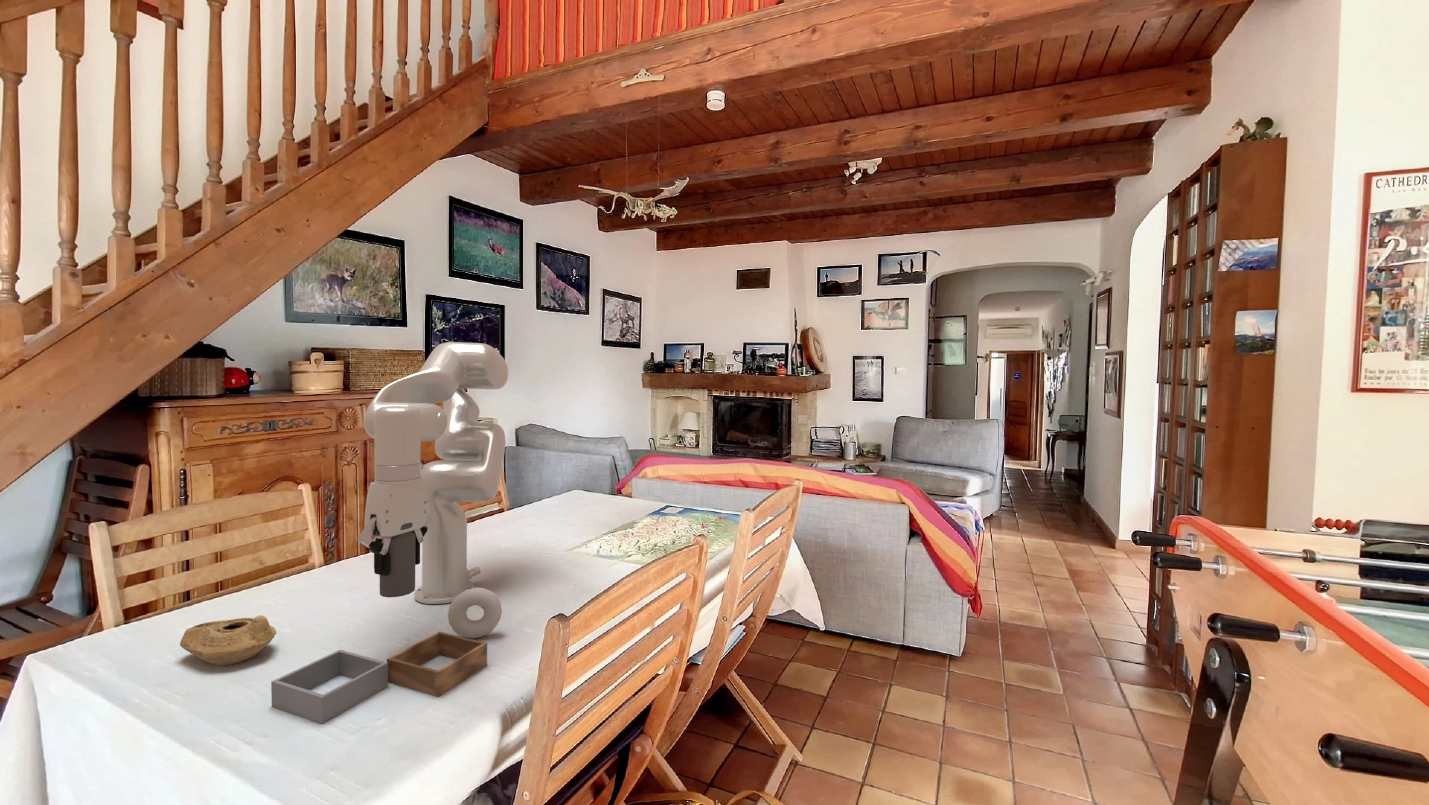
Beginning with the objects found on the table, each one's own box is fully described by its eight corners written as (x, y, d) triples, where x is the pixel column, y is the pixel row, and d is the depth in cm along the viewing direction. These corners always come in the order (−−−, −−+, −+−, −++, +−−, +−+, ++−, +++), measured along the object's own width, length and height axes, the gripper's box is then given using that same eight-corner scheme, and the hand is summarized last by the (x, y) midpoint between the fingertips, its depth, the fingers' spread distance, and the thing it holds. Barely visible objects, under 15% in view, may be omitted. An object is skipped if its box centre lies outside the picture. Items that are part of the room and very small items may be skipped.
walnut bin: (439, 652, 108) (439, 631, 108) (486, 664, 104) (487, 643, 104) (386, 682, 97) (386, 659, 97) (437, 696, 94) (437, 673, 93)
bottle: (399, 599, 104) (399, 517, 103) (371, 596, 105) (371, 514, 104) (422, 587, 110) (422, 510, 109) (395, 584, 111) (395, 507, 110)
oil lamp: (198, 647, 107) (197, 605, 107) (289, 641, 110) (289, 600, 110) (155, 678, 96) (154, 632, 96) (258, 670, 100) (257, 625, 99)
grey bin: (340, 671, 100) (340, 649, 100) (387, 686, 96) (387, 662, 96) (271, 706, 90) (271, 681, 89) (322, 723, 86) (321, 697, 86)
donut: (502, 631, 117) (502, 583, 117) (500, 639, 114) (501, 589, 113) (449, 635, 115) (449, 586, 114) (446, 643, 111) (446, 593, 111)
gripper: (420, 464, 115) (420, 553, 116) (338, 478, 99) (339, 580, 100) (450, 467, 113) (449, 558, 114) (370, 482, 97) (370, 587, 98)
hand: (397, 567), depth 107 cm, fingers closed on bottle, 5 cm apart
